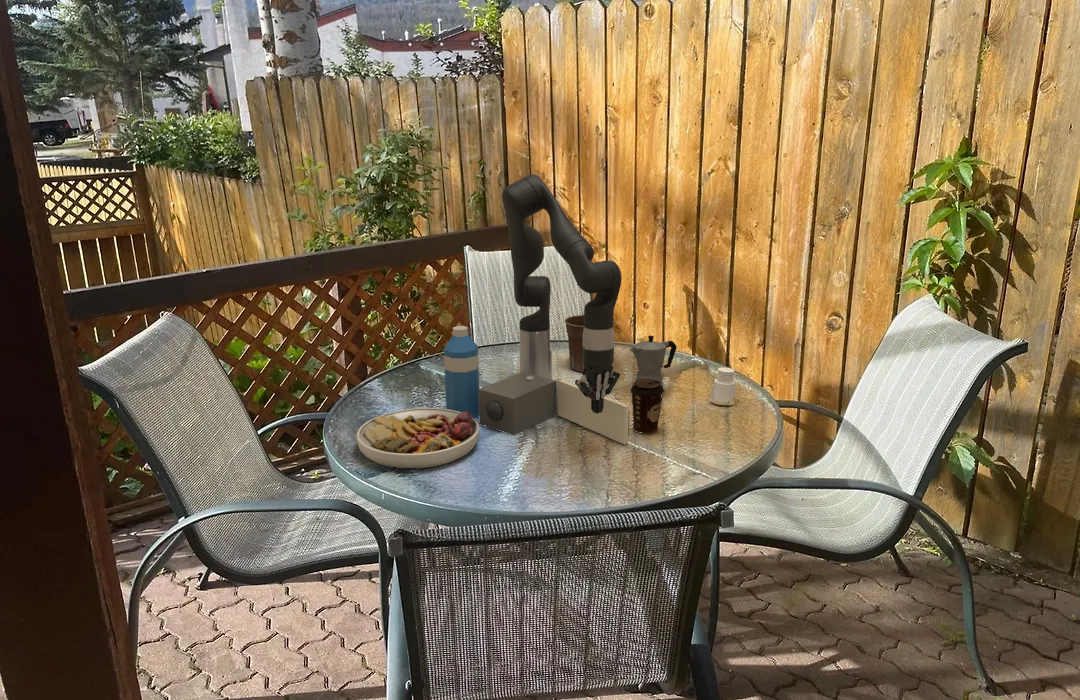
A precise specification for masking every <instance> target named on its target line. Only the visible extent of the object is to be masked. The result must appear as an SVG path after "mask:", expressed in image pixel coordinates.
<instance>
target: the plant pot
mask: <svg viewBox="0 0 1080 700" xmlns="http://www.w3.org/2000/svg"><path fill="white" fill-rule="evenodd" d="M564 324H565V325H566V326H565V327H566V334H567V339H568V353H569V367H570V369H571V370H573V371H575V372H578V373H583V370H584V364H583V361H582V356H583V330H584V314H578V315H571V316H568V317H566V318H564ZM615 324H616V320H615V319H614V322H613V325H615Z"/></svg>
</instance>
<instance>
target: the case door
mask: <svg viewBox="0 0 1080 700" xmlns="http://www.w3.org/2000/svg"><path fill="white" fill-rule="evenodd" d="M555 380H556V415H555V416H558V417H562V418H563V419H566V420H568V421H570V422H572V423H575V424H577V425H579V426H581V427H584V428H586V429H588V430H591V431H593V432H595V433H597V434H600V435H602V436H604V437H606V438H608V439H611V440H613V441H616V442H617V443H619V444H623V445H627V444H629V438H630V406H629V405H627V404H625V403H623V402H620V401H618V400H615V399H612V398H610V397H607V396H605V398H604V408H603V410H602V412H601V413H598V414H596V413H594V412H593V411H592V410H591V399H590V398H588V397H586V396H584V394H583V393H582V392H581V390H580V389H579V388H578V387H577V385H576V384H574V383H571V382H569V381H566V380H563V379H561V378H557V379H555Z"/></svg>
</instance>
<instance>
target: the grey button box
mask: <svg viewBox="0 0 1080 700" xmlns="http://www.w3.org/2000/svg"><path fill="white" fill-rule="evenodd" d="M556 380H557V379H548V378H544V377H540V376H536V375H532V374H528V373H524V372H521V373H520V372H519V373H516V374H514V375H512V376H509V377H506V378H504V379H501V380H499V381H496V382H494V383H491V384H489V385H486V386H483V387H481V388H479V425H480V424H482V425H481V426H483V425H486V426H489V427H492V428H491V429H493V428H495V429H494V430H496V429H498V430H497V431H499V430H501V431H500V432H502V431H504V432H503V433H505V432H507V433H506V434H508V433H510V434H509V435H511V434H512V436H515V435H518V434H520V433H522V432H524V431H526V430H528V429H530V428H532V427H534V426H536V425H538V424H540V423H543V422H544V421H547V420H549V419H551V418H553V417H555V416H557V415H556ZM486 426H485V427H486ZM489 427H488V428H489Z"/></svg>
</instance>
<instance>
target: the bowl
mask: <svg viewBox="0 0 1080 700" xmlns="http://www.w3.org/2000/svg"><path fill="white" fill-rule="evenodd" d="M479 437H480V423H479V422H478V421H477V419H474V418H473V415H472V414H471V413H469V412H466V411H465V412H458V411H454V410H449V409H446V408H438V407H420V408H419V407H418V408H417V407H416V408H415V407H414V408H407V409H400V410H396V411H395V410H394V411H391V412H387V413H384V414H381V415H379V416H376V417H374V418H371V419H370V420H368V421H366V422H365V423H363V424H362V425H361V426H360V427H359V428H358V430H357V432H356V443H357V446H358V448H359V450H360V452H361V453H362V454H363V455H364V456H365V457H366V458H367V459H369V460H370V461H372V462H375V463H376V464H379V465H382V466H385V467H390V468H394V467H396V468H397V469H405V468H416V469H426V467H427V468H434V467H438V465H439V466H442V464H443V465H445V464H449V463H452V462H454V461H456V460H459V459H460V458H463V457H464V456H465V455H467V454H468V453H469V452H471V450H473V448H474V447H475V446H476V445H477V443H478V440H479ZM433 466H434V467H433Z"/></svg>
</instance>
